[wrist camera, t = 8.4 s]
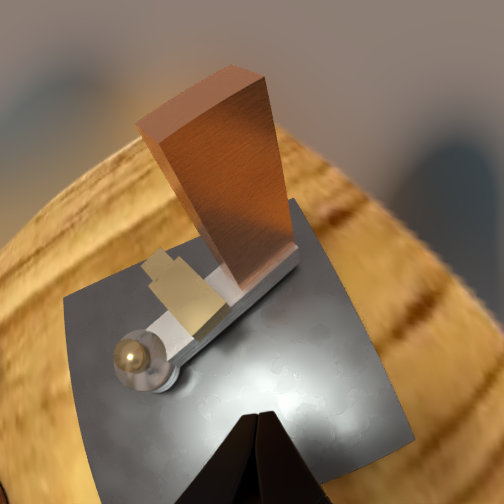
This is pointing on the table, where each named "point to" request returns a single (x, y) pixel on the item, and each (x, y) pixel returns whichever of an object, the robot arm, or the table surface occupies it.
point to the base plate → (230, 379)
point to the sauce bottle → (2, 497)
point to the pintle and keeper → (175, 306)
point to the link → (219, 204)
